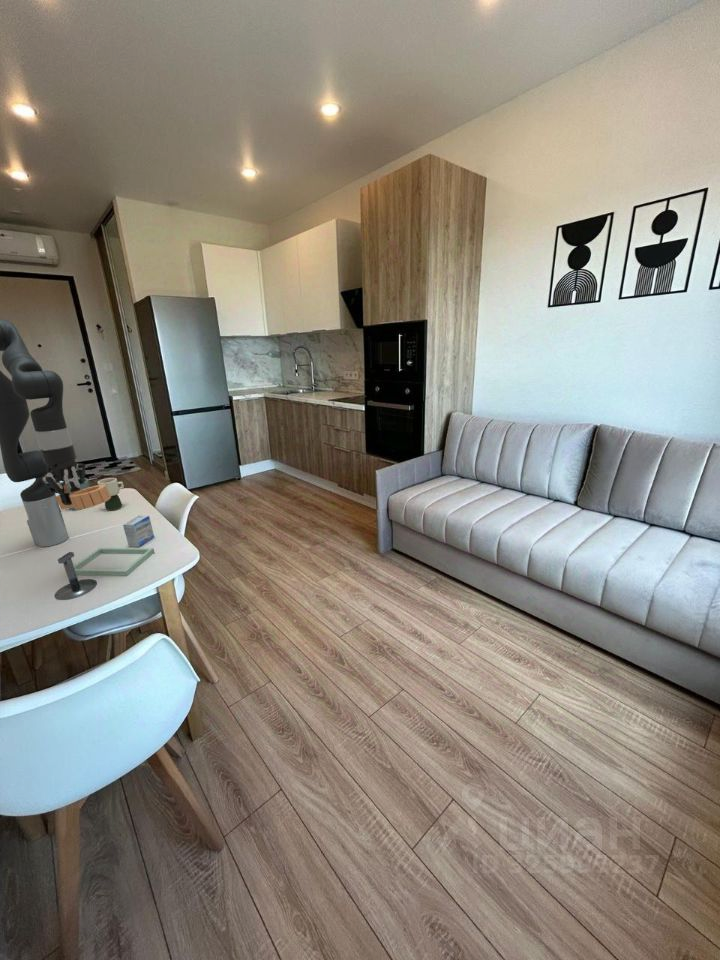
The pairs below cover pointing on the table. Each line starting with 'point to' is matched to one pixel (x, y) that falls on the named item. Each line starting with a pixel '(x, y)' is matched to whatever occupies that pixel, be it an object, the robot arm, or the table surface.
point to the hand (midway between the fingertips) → (72, 502)
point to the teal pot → (82, 486)
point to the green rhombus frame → (113, 572)
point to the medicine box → (138, 531)
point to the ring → (86, 497)
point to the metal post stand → (73, 581)
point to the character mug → (112, 492)
